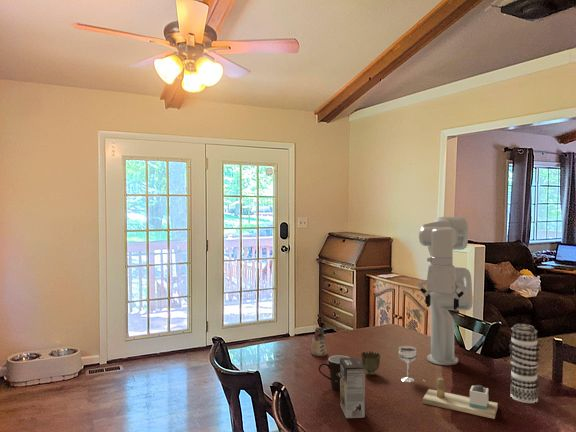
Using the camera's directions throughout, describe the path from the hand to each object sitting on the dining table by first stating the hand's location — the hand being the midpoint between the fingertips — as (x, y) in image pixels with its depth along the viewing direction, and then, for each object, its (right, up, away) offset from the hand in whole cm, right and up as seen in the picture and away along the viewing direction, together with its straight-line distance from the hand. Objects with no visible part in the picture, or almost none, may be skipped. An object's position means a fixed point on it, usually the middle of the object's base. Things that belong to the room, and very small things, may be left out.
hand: (441, 307), depth 164 cm
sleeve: (+5, -27, -21) cm, 35 cm away
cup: (-25, -29, +10) cm, 39 cm away
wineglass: (-12, -29, +4) cm, 31 cm away
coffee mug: (-39, -29, -1) cm, 49 cm away
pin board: (0, -29, -18) cm, 34 cm away
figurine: (-43, -28, +35) cm, 62 cm away
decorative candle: (+24, -29, -13) cm, 39 cm away
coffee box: (-37, -29, -22) cm, 52 cm away
